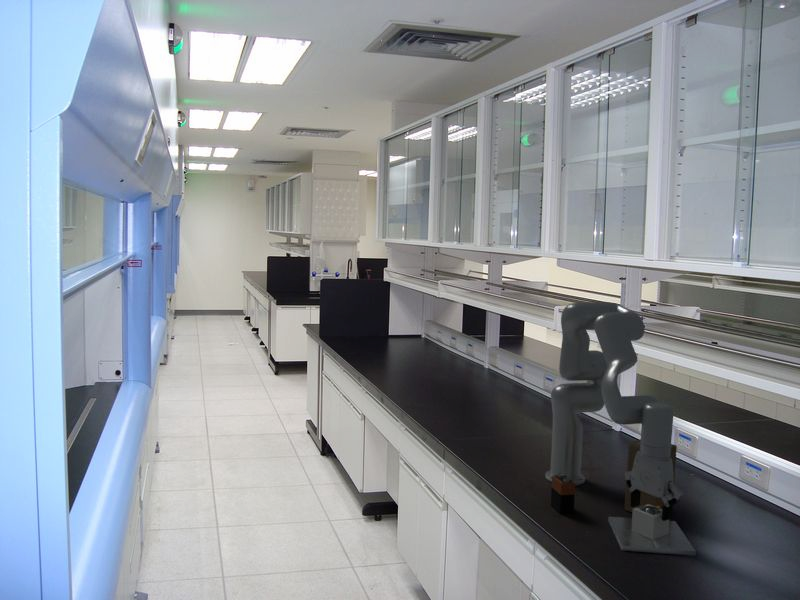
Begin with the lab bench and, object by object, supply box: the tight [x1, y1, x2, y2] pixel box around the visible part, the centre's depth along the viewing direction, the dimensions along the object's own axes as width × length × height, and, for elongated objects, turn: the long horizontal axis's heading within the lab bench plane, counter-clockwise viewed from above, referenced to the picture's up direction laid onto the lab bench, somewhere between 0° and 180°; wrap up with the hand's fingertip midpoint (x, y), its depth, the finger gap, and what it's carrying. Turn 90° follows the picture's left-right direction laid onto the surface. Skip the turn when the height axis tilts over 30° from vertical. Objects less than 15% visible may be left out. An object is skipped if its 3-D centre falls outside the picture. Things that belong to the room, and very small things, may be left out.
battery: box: [550, 473, 576, 515], centre depth 199 cm, size 4×7×10 cm, turn 13°
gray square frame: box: [631, 504, 670, 540], centre depth 182 cm, size 7×7×6 cm
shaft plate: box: [607, 506, 697, 557], centre depth 182 cm, size 18×18×8 cm
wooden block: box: [624, 438, 678, 513], centre depth 199 cm, size 10×10×20 cm
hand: (650, 512), depth 182 cm, fingers open, 9 cm apart
